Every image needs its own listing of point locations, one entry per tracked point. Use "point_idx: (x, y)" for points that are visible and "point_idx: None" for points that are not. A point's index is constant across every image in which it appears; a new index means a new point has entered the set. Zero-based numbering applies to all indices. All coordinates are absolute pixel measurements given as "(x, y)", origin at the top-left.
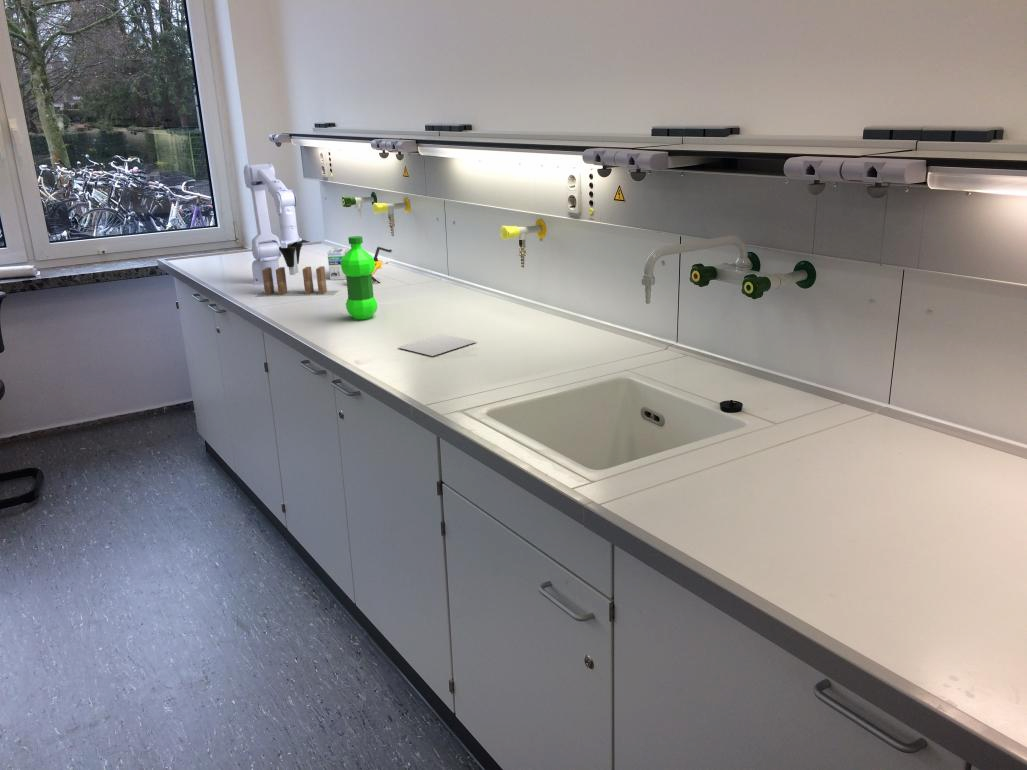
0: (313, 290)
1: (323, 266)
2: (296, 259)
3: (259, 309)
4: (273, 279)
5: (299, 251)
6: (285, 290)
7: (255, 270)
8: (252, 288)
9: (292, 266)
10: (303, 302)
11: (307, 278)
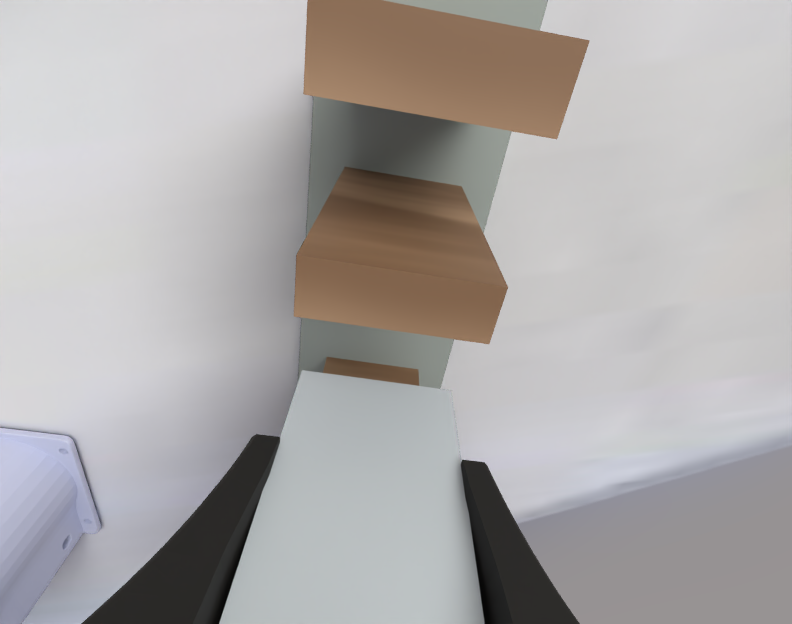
0: (348, 170)
1: (315, 8)
2: (284, 503)
3: (739, 429)
4: (39, 478)
5: (169, 603)
6: (361, 374)
7: (26, 600)
8: (173, 520)
9: (489, 472)
10: (695, 202)
11: (483, 241)
